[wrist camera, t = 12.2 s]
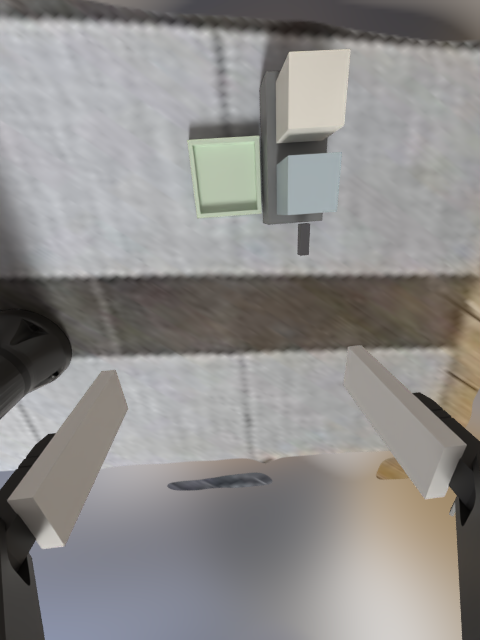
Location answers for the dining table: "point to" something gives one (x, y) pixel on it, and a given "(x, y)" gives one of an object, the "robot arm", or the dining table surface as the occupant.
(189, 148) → the tray
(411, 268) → the dining table surface
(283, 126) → the plug
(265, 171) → the strip
